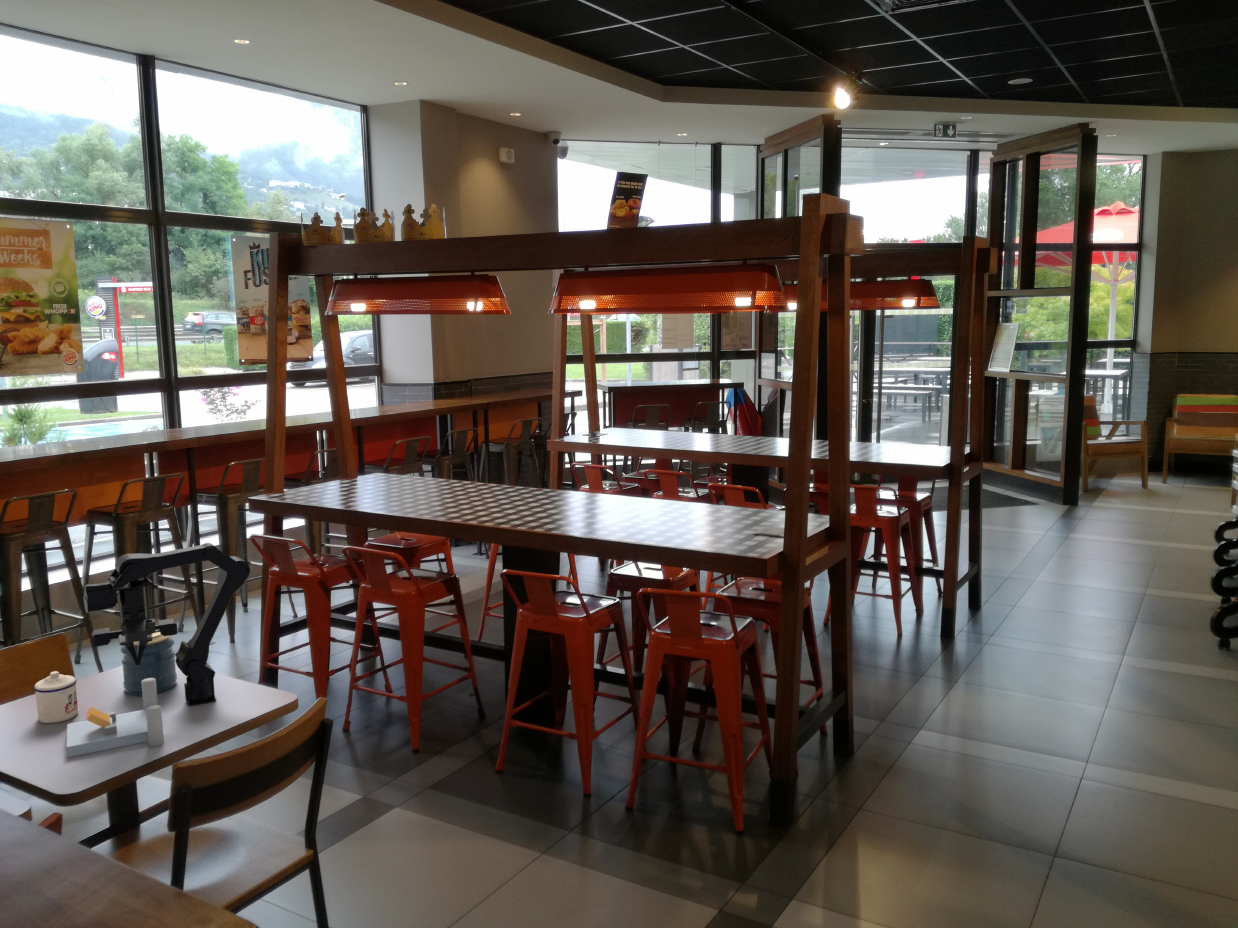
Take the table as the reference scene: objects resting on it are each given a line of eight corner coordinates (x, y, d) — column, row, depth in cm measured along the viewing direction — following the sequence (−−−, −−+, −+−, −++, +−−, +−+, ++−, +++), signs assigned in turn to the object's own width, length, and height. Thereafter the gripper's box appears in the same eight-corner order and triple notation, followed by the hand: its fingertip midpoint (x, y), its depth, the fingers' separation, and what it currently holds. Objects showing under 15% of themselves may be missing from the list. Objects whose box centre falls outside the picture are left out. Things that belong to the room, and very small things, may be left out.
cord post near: (163, 739, 217) (160, 703, 215) (164, 744, 214) (161, 708, 212) (148, 742, 215) (145, 706, 214) (149, 748, 212) (146, 711, 211)
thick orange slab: (109, 715, 219) (90, 706, 217) (110, 722, 215) (91, 713, 213) (105, 720, 219) (86, 712, 217) (105, 728, 215) (86, 719, 213)
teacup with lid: (74, 721, 226) (69, 676, 224) (32, 726, 224) (27, 681, 222) (86, 702, 238) (82, 659, 236) (46, 706, 235) (42, 663, 233)
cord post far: (157, 710, 233) (155, 676, 231) (158, 714, 230) (156, 681, 229) (143, 712, 231) (141, 679, 230) (144, 717, 229) (141, 683, 227)
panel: (151, 717, 229) (150, 701, 228) (155, 739, 217) (154, 722, 216) (68, 733, 220) (66, 716, 219) (67, 757, 208) (65, 739, 207)
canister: (188, 681, 252) (183, 620, 249) (148, 699, 240) (143, 635, 237) (153, 674, 256) (148, 614, 253) (112, 692, 244) (107, 629, 241)
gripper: (89, 620, 215) (95, 682, 217) (177, 608, 224) (181, 668, 227) (89, 607, 225) (95, 667, 227) (173, 596, 234) (177, 654, 236)
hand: (137, 664), depth 229 cm, fingers closed
